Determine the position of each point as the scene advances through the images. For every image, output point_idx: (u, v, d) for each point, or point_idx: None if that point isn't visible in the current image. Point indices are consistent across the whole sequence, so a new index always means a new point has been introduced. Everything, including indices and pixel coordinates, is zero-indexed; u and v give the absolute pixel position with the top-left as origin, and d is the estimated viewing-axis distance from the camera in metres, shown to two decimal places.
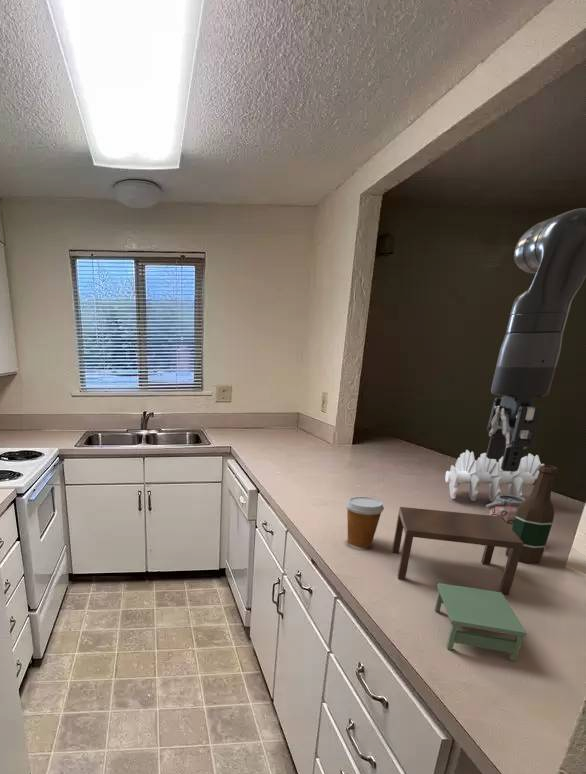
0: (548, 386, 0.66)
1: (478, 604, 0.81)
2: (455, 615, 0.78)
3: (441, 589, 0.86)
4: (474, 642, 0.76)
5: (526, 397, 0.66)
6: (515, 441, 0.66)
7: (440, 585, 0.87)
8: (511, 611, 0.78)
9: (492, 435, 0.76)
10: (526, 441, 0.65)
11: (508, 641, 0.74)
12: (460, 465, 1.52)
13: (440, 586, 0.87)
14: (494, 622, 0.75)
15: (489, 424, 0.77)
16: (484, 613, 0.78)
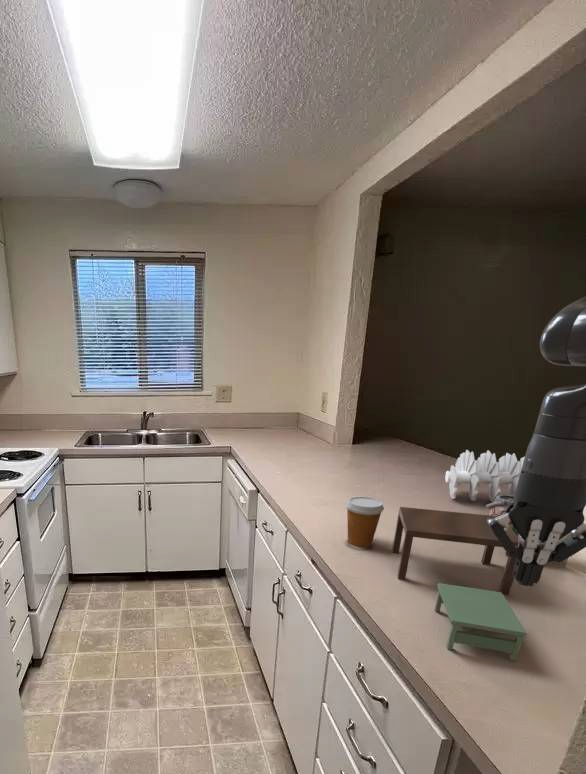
0: None
1: (478, 604, 0.81)
2: (455, 615, 0.78)
3: (441, 589, 0.86)
4: (474, 642, 0.76)
5: None
6: (564, 557, 0.60)
7: (440, 585, 0.87)
8: (511, 611, 0.78)
9: None
10: None
11: (508, 641, 0.74)
12: (460, 465, 1.52)
13: (440, 586, 0.87)
14: (494, 622, 0.75)
15: (512, 549, 0.61)
16: (484, 613, 0.78)
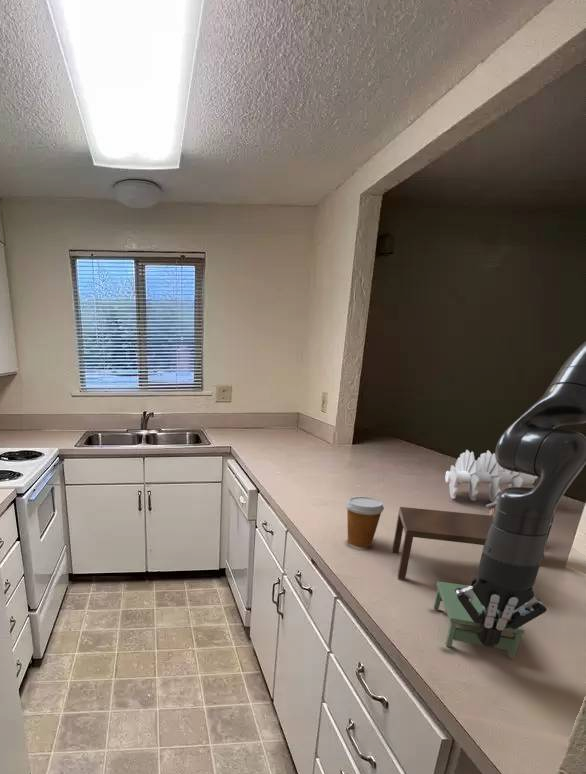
0: None
1: (476, 601, 0.82)
2: (454, 612, 0.78)
3: (440, 587, 0.86)
4: (473, 639, 0.76)
5: None
6: None
7: (439, 583, 0.88)
8: None
9: None
10: (514, 619, 0.72)
11: (506, 638, 0.74)
12: (460, 465, 1.52)
13: (439, 584, 0.88)
14: None
15: (475, 616, 0.73)
16: None
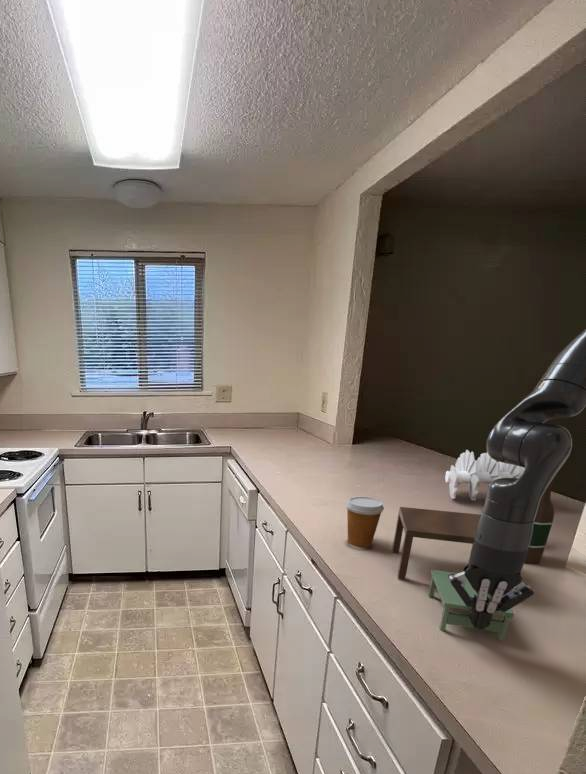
0: None
1: (468, 588, 0.86)
2: (447, 598, 0.83)
3: (434, 575, 0.91)
4: (465, 623, 0.81)
5: None
6: (507, 607, 0.76)
7: (433, 571, 0.92)
8: None
9: None
10: (504, 603, 0.77)
11: (496, 621, 0.79)
12: (460, 465, 1.52)
13: (433, 572, 0.92)
14: None
15: (467, 600, 0.77)
16: None
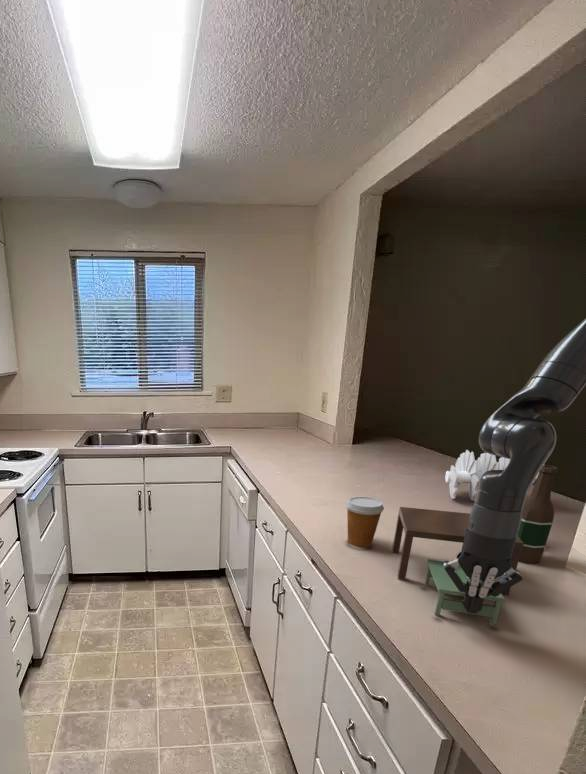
0: None
1: (462, 575, 0.91)
2: (442, 584, 0.87)
3: (430, 564, 0.96)
4: (458, 608, 0.85)
5: None
6: (498, 592, 0.80)
7: (429, 561, 0.97)
8: None
9: (474, 594, 0.82)
10: None
11: (488, 606, 0.84)
12: (460, 465, 1.52)
13: (429, 562, 0.97)
14: None
15: (461, 586, 0.82)
16: None
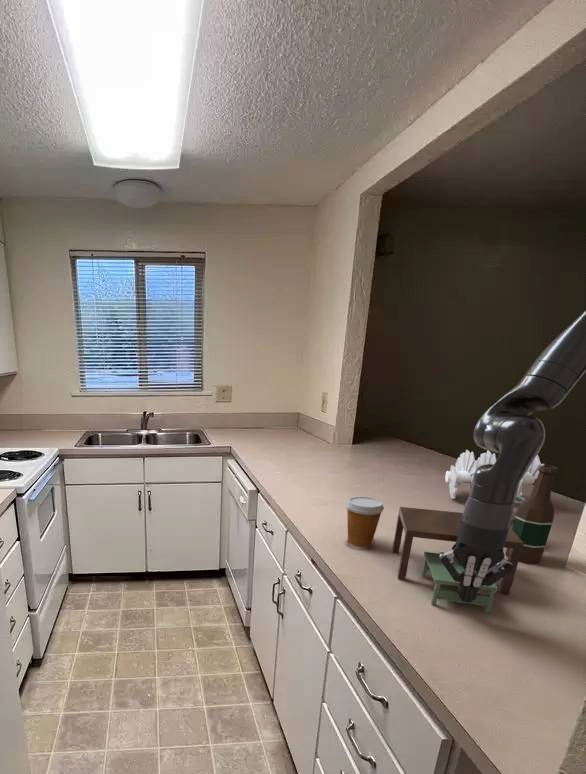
0: None
1: (458, 567, 0.94)
2: (438, 575, 0.91)
3: (427, 556, 0.99)
4: (454, 597, 0.89)
5: None
6: None
7: (426, 553, 1.01)
8: (486, 572, 0.92)
9: None
10: None
11: (482, 595, 0.87)
12: (460, 465, 1.52)
13: (426, 554, 1.00)
14: None
15: (456, 576, 0.85)
16: None
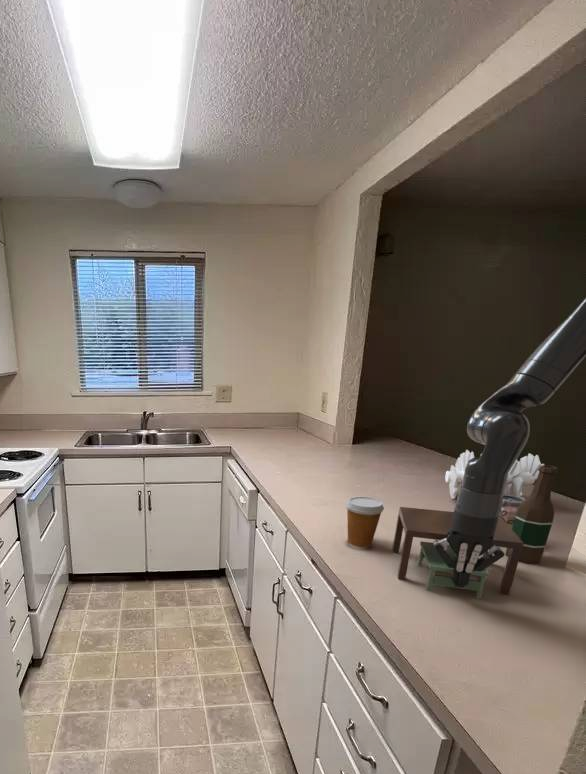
0: None
1: (451, 555, 1.00)
2: (433, 562, 0.96)
3: (423, 545, 1.05)
4: (448, 583, 0.94)
5: None
6: None
7: (422, 542, 1.06)
8: None
9: None
10: None
11: (474, 581, 0.93)
12: (460, 465, 1.52)
13: (422, 543, 1.06)
14: None
15: (449, 562, 0.91)
16: None
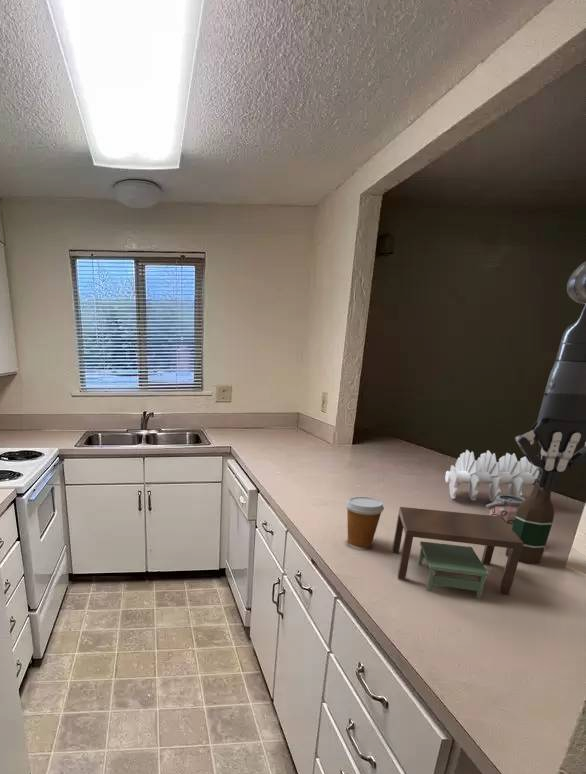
0: None
1: (451, 555, 1.00)
2: (433, 562, 0.96)
3: (423, 545, 1.05)
4: (448, 583, 0.94)
5: None
6: (579, 464, 0.73)
7: (422, 542, 1.06)
8: (478, 559, 0.97)
9: (551, 468, 0.75)
10: None
11: (474, 581, 0.93)
12: (460, 465, 1.52)
13: (422, 543, 1.06)
14: (464, 567, 0.94)
15: (536, 460, 0.75)
16: (456, 561, 0.97)
